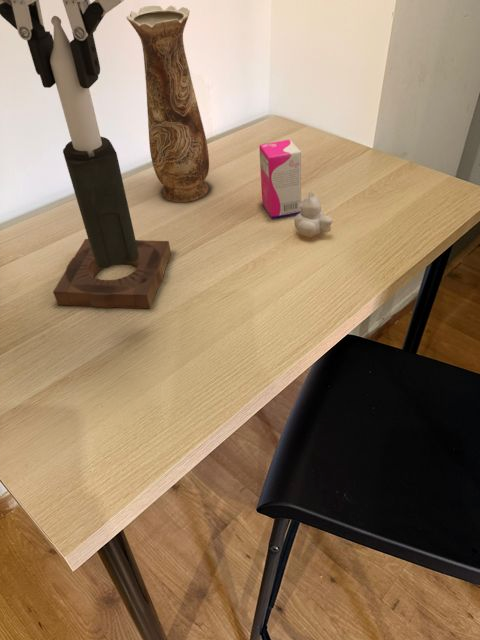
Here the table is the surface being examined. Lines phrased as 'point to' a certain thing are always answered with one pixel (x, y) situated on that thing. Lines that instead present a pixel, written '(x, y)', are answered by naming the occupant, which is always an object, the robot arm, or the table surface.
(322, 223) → the white animal figurine
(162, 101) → the vase
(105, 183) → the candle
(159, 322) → the table surface
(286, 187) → the supplement box
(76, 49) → the robot arm
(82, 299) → the hole plate
